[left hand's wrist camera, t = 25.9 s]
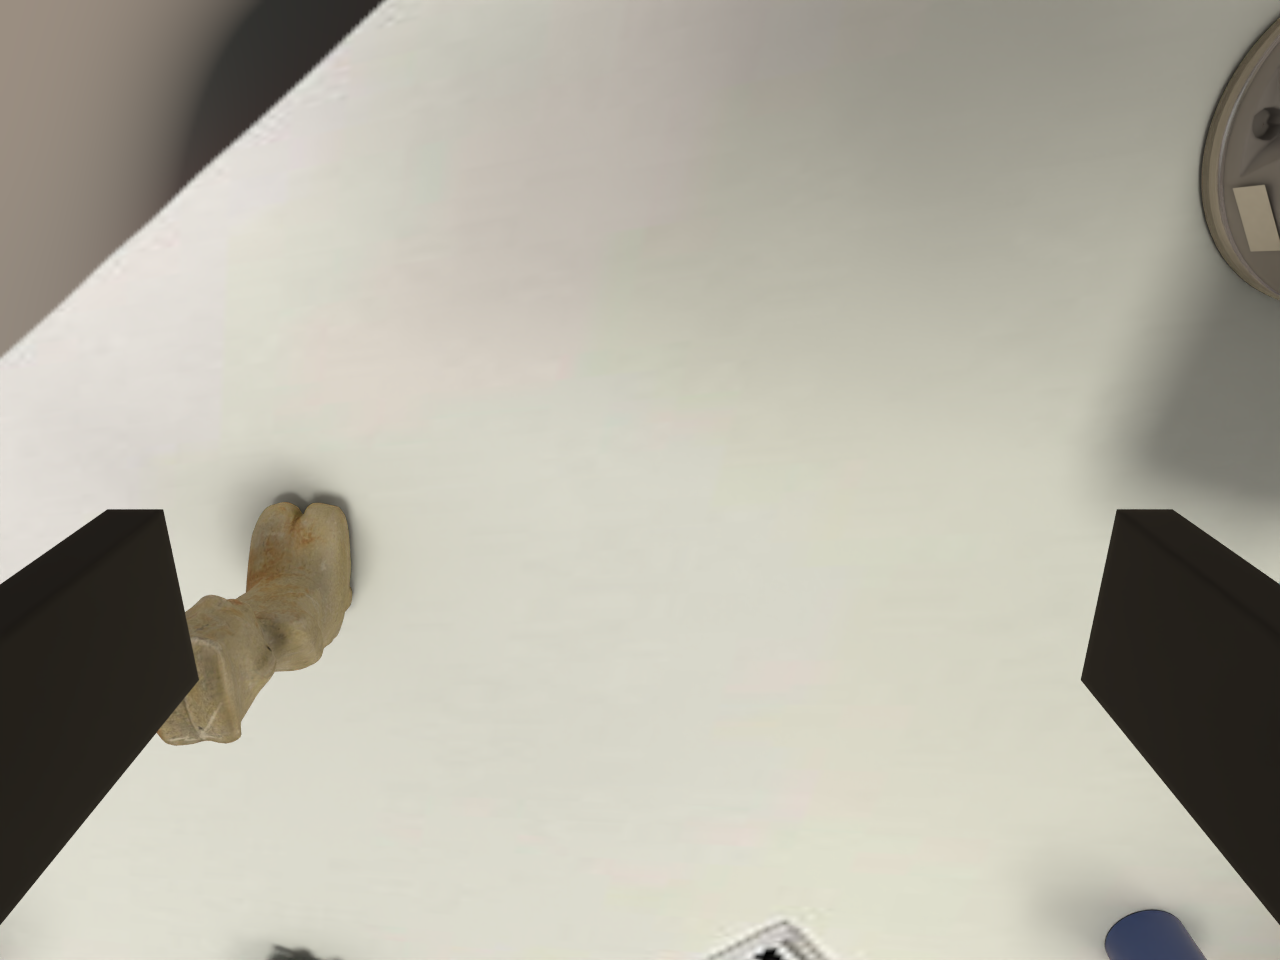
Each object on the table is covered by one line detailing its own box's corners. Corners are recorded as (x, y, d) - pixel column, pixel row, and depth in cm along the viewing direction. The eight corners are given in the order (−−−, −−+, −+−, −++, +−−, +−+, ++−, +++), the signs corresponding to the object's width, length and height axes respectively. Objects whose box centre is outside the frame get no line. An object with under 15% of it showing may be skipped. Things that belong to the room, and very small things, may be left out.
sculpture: (366, 495, 48) (252, 644, 34) (374, 612, 50) (272, 795, 36) (257, 491, 48) (98, 638, 34) (271, 608, 50) (129, 790, 36)
